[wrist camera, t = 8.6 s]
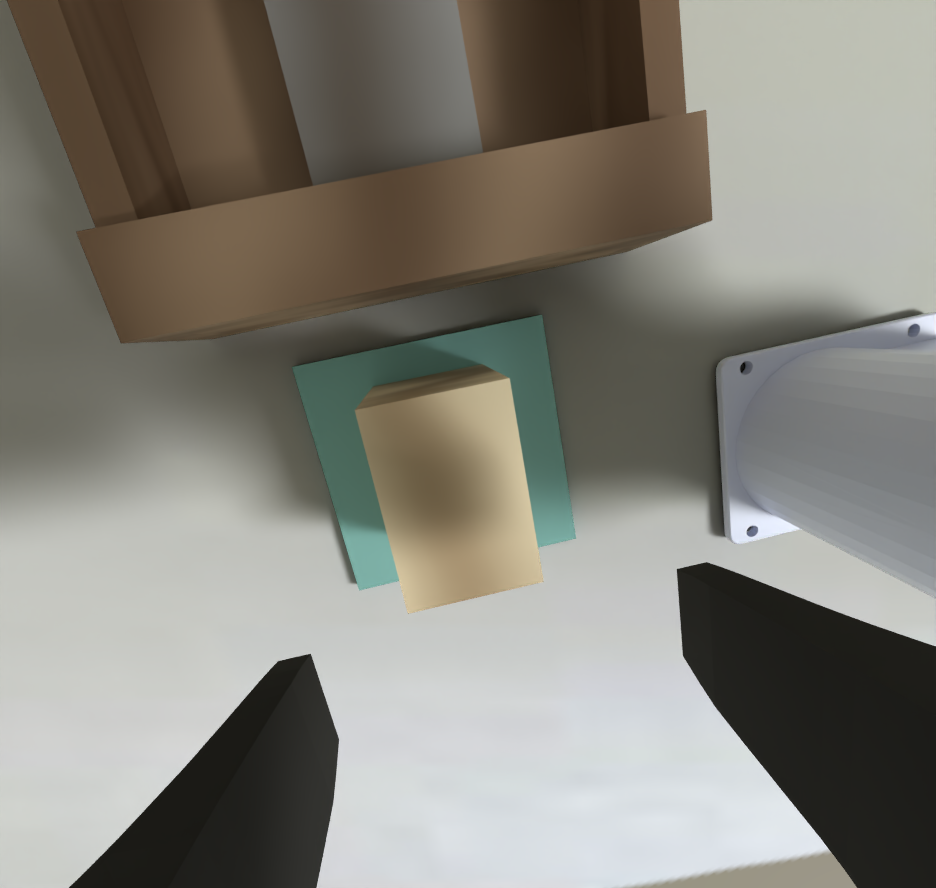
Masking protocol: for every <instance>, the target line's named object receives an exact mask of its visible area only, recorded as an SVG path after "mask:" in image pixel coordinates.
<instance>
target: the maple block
mask: <svg viewBox="0 0 936 888" xmlns="http://www.w3.org/2000/svg"><path fill="white" fill-rule="evenodd" d="M355 413H356V417H357V421H358V425H359V429H360V432H361V436H362V440H363V444H364V448H365V452H366V455H367V459H368V463H369V467H370V471H371V474H372V478H373V482H374V486H375V490H376V493H377V497H378V501H379V505H380V509H381V513H382V516H383V520H384V524H385V528H386V532H387V535H388V539H389V543H390V547H391V551H392V555H393V558H394V562H395V566H396V570H397V574H398V577H399V581H400V585H401V589H402V593H403V596H404V600H405V604H406V608H407V612H408V614H409V613H413V612H417V611H422V610H426V609H430V608H434V607H439V606H443V605H447V604H451V603H456V602H460V601H464V600H468V599H472V598H477V597H481V596H485V595H489V594H494V593H498V592H502V591H506V590H511V589H515V588H519V587H523V586H528V585H532V584H536V583H540V582H544V581H543V575H542V569H541V563H540V557H539V551H538V545H537V539H536V533H535V527H534V521H533V515H532V509H531V503H530V497H529V491H528V485H527V479H526V473H525V467H524V461H523V455H522V449H521V443H520V437H519V431H518V425H517V419H516V413H515V407H514V401H513V395H512V389H511V383H510V378H508V377H506V376H505V375H503V374H501V373H499V372H497V371H495V370H493V369H491V368H489V367H487V366H485V365H483V364H480V365H475V366H470V367H465V368H461V369H456V370H451V371H446V372H441V373H436V374H431V375H426V376H422V377H417V378H412V379H407V380H402V381H397V382H392V383H387V384H383V385H378V386H373V387H372V389H371V390H370V391H369V392H368V394H367V395H366V396H365V398H364V399H363V400H362V401H361V403H360V404H359V405H358V407H357V408H356V409H355Z"/></svg>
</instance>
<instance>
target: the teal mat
mask: <svg viewBox="0 0 936 888" xmlns="http://www.w3.org/2000/svg"><path fill="white" fill-rule="evenodd" d="M480 364H483V365H485V366H487V367H489V368H491V369H493V370H495V371H497V372H499V373H501V374H503V375H505V376H506V377H508V378H510V383H511V389H512V395H513V401H514V407H515V413H516V419H517V425H518V431H519V437H520V443H521V449H522V455H523V461H524V467H525V473H526V479H527V485H528V491H529V497H530V503H531V509H532V515H533V521H534V527H535V533H536V539H537V545H538V547H542V546H546V545H551V544H555V543H559V542H563V541H567V540H571V539H576V535H575V529H574V522H573V515H572V509H571V502H570V496H569V489H568V482H567V476H566V469H565V463H564V456H563V449H562V443H561V436H560V429H559V423H558V416H557V410H556V403H555V396H554V390H553V383H552V377H551V370H550V363H549V357H548V350H547V344H546V337H545V330H544V324H543V317H542V315H537V316H532V317H527V318H522V319H518V320H513V321H508V322H503V323H499V324H494V325H489V326H484V327H480V328H475V329H470V330H465V331H460V332H456V333H451V334H446V335H441V336H437V337H432V338H427V339H422V340H418V341H413V342H408V343H403V344H399V345H394V346H389V347H384V348H379V349H375V350H370V351H365V352H360V353H356V354H351V355H346V356H341V357H337V358H332V359H327V360H322V361H318V362H313V363H308V364H303V365H298V366H294V367H292V369H293V373H294V376H295V379H296V383H297V386H298V389H299V393H300V396H301V399H302V402H303V406H304V409H305V412H306V416H307V419H308V422H309V426H310V429H311V432H312V436H313V439H314V442H315V446H316V449H317V452H318V455H319V459H320V462H321V465H322V469H323V472H324V475H325V479H326V482H327V485H328V489H329V492H330V495H331V499H332V502H333V505H334V508H335V512H336V515H337V518H338V522H339V525H340V528H341V532H342V535H343V538H344V542H345V545H346V548H347V552H348V555H349V558H350V561H351V565H352V568H353V571H354V575H355V578H356V581H357V585H358V588H359V590H363V589H367V588H371V587H375V586H380V585H384V584H388V583H392V582H396V581H399V577H398V574H397V570H396V566H395V562H394V558H393V555H392V551H391V547H390V543H389V539H388V535H387V532H386V528H385V524H384V520H383V516H382V513H381V509H380V505H379V501H378V497H377V493H376V490H375V486H374V482H373V478H372V474H371V471H370V467H369V463H368V459H367V455H366V452H365V448H364V444H363V440H362V436H361V432H360V429H359V425H358V421H357V417H356V413H355V409H356V408H357V407H358V405H359V404H360V403H361V401H362V400H363V399H364V398H365V396H366V395H367V394H368V392H369V391H370V390H371V389H372V387H373V386H378V385H383V384H387V383H392V382H397V381H402V380H407V379H412V378H417V377H422V376H426V375H431V374H436V373H441V372H446V371H451V370H456V369H461V368H465V367H470V366H475V365H480Z"/></svg>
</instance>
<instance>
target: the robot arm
mask: <svg viewBox="0 0 936 888" xmlns="http://www.w3.org/2000/svg"><path fill="white" fill-rule="evenodd" d="M908 329H909V333H908ZM743 362H745V365H746V366H745V370H744V371H743V372H742V373H741V372H740V366H741V364H742V363H743ZM716 384H717V402H718V420H719V438H720V456H721V475H722V493H723V511H724V529H725V536H726V538H727V539H728V540H730V541H731V542H733V543H735V544H743V543H747V542H751V541H755V540H759V539H763V538H767V537H771V536H775V535H779V534H783V533H787V532H791V531H795V530H800V529H802V530H804V531H806V532H808V533H810V534H812V535H814V536H816V537H817V538H819V539H821V540H823V541H825V542H827V543H829V544H831V545H833V546H835V547H837V548H839V549H841V550H843V551H845V552H847V553H848V554H850V555H852V556H854V557H856V558H858V559H860V560H862V561H864V562H866V563H868V564H870V565H872V566H874V567H876V568H878V569H879V570H881V571H883V572H885V573H887V574H889V575H891V576H893V577H895V578H897V579H899V580H901V581H903V582H905V583H907V584H908V585H910V586H912V587H914V588H916V589H918V590H920V591H922V592H924V593H926V594H928V595H930V596H932V597H934V598H936V312H935V313H925V314H920V315H916V316H911V317H907V318H902V319H898V320H893V321H889V322H884V323H880V324H875V325H871V326H866V327H861V328H857V329H852V330H848V331H843V332H839V333H834V334H830V335H825V336H821V337H816V338H812V339H807V340H803V341H798V342H794V343H789V344H784V345H780V346H775V347H771V348H766V349H762V350H757V351H753V352H748V353H744V354H739V355H735V356H730V357H726V358H724V359H722V360H721V361H720V362H719V364H718V366H717V368H716ZM750 526H751V529H750V531H749V532H747V529H748V528H749V527H750ZM746 532H747V533H746ZM677 578H678V592H679V606H680V620H681V634H682V648H683V657H684V658H685V660H686V661H687V663H688V665H689V666H690V668H691V670H692V671H693V673H694V674H695V676H696V678H697V679H698V681H699V683H700V684H701V686H702V687H703V689H704V690H705V692H706V693H707V695H708V696H709V698H710V699H711V701H712V702H713V704H714V706H715V707H716V708H717V710H718V711H719V712H720V713H721V715H722V716H723V717H724V719H725V720H726V721H727V722H728V724H729V725H730V726H731V727H732V729H733V730H734V731H735V732H736V734H737V735H738V736H739V737H740V739H741V740H742V741H743V742H744V744H745V745H746V746H747V747H748V749H749V750H750V751H751V752H752V754H753V755H754V756H755V757H756V759H757V760H758V761H759V762H760V764H761V765H762V766H763V767H764V769H765V770H766V771H767V772H768V773H769V775H770V776H771V777H772V778H773V780H774V781H775V782H776V783H777V785H778V786H779V787H780V788H781V790H782V791H783V792H784V793H785V795H786V796H787V797H788V798H789V800H790V801H791V802H792V803H793V804H794V806H795V807H796V808H797V809H798V811H799V812H800V813H801V814H802V816H803V817H804V818H805V819H806V821H807V822H808V823H809V824H810V826H811V827H812V828H813V829H814V830H815V832H816V833H817V834H818V835H819V837H820V838H821V839H822V841H823V842H824V843H825V845H826V846H827V847H828V849H829V850H830V851H831V852H832V854H833V855H834V856H835V857H836V859H837V860H838V862H839V863H840V864H841V866H842V867H843V868H844V869H845V871H846V872H847V874H848V875H849V877H850V878H851V879H852V881H853V882H854V884H855V885H856V887H857V888H936V646H933V645H930V644H926V643H924V642H921V641H918V640H915V639H912V638H909V637H906V636H903V635H900V634H897V633H894V632H892V631H889V630H886V629H883V628H880V627H877V626H874V625H871V624H869V623H866V622H863V621H860V620H858V619H855V618H852V617H849V616H847V615H844V614H841V613H839V612H836V611H833V610H831V609H828V608H825V607H823V606H820V605H818V604H815V603H812V602H810V601H807V600H805V599H802V598H799V597H797V596H794V595H792V594H789V593H787V592H784V591H782V590H779V589H777V588H774V587H772V586H769V585H766V584H764V583H761V582H759V581H756V580H754V579H751V578H749V577H746V576H743V575H741V574H738V573H736V572H733V571H730V570H728V569H725V568H722V567H719V566H716V565H713V564H710V563H707V562H706V563H702V564H697V565H693V566H689V567H684V568H680V569H677ZM338 744H339V738H338V735H337V732H336V729H335V726H334V723H333V720H332V717H331V714H330V711H329V708H328V705H327V702H326V699H325V696H324V693H323V690H322V687H321V684H320V681H319V678H318V675H317V672H316V669H315V666H314V663H313V660H312V656H311V654H308V655H303V656H299V657H295V658H290V659H286V660H282V661H278V662H277V663H276V664H275V665H274V666H273V667H272V668H271V669H270V670H269V672H268V673H267V674H266V675H265V676H264V677H263V678H262V679H261V680H260V682H259V683H258V684H257V685H256V686H255V687H254V689H253V690H252V691H251V692H250V693H249V694H248V695H247V697H246V698H245V699H244V700H243V701H242V702H241V704H240V705H239V706H238V707H237V708H236V709H235V711H234V712H233V713H232V714H231V715H230V716H229V717H228V719H227V720H226V721H225V722H224V723H223V724H222V726H221V727H220V728H219V729H218V730H217V731H216V732H215V733H214V735H213V736H212V737H211V738H210V739H209V740H208V741H207V743H206V744H205V745H204V746H203V747H202V748H201V749H200V751H199V752H198V753H197V754H196V755H195V756H194V757H193V759H192V760H191V761H190V762H189V763H188V764H187V765H186V766H185V768H184V769H183V770H182V771H181V772H180V773H179V774H178V775H177V776H176V777H175V778H174V779H173V780H172V782H171V783H170V784H169V785H168V786H167V787H166V788H165V789H164V790H163V791H162V792H161V793H160V794H159V795H158V797H157V798H156V799H155V800H154V801H153V802H152V803H151V804H150V805H149V806H148V807H147V808H146V809H145V810H144V812H143V813H142V814H141V815H140V816H139V817H138V818H137V819H136V820H135V821H134V822H133V823H132V824H131V825H130V827H129V828H128V829H127V830H126V831H125V832H124V833H123V834H122V835H121V836H120V837H119V838H118V839H117V840H116V841H115V842H114V843H113V844H112V845H111V846H110V847H109V848H108V849H107V851H106V852H105V853H104V854H103V855H102V856H101V857H100V858H99V859H98V860H97V861H96V862H95V863H94V864H93V865H92V866H91V867H90V868H89V869H88V870H87V871H86V872H85V873H84V874H83V875H82V876H81V877H80V878H79V879H78V880H77V881H75V882H74V883H73V884H72V885H71V886H70V887H69V888H316V887H317V882H318V877H319V872H320V867H321V862H322V857H323V852H324V847H325V842H326V837H327V832H328V827H329V822H330V816H331V811H332V806H333V799H334V789H335V780H336V769H337V757H338Z"/></svg>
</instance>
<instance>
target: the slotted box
mask: <svg viewBox="0 0 936 888" xmlns="http://www.w3.org/2000/svg"><path fill="white" fill-rule="evenodd" d="M7 2H8V4H9V7H10V10H11V12H12V15H13V17H14V20H15V22H16V25H17V27H18V30H19V33H20V35H21V38H22V40H23V43H24V45H25V48H26V50H27V53H28V56H29V58H30V61H31V63H32V66H33V68H34V71H35V73H36V76H37V79H38V81H39V84H40V86H41V89H42V91H43V94H44V96H45V99H46V102H47V104H48V107H49V109H50V112H51V114H52V117H53V120H54V122H55V125H56V127H57V130H58V132H59V135H60V137H61V140H62V143H63V145H64V148H65V150H66V153H67V155H68V158H69V160H70V163H71V166H72V168H73V171H74V173H75V176H76V178H77V181H78V183H79V186H80V189H81V191H82V194H83V196H84V199H85V201H86V204H87V206H88V209H89V212H90V214H91V217H92V219H93V222H94V224H95V227H96V228H92V229H87V230H82V231H77V232H76V233H77V235H78V238H79V240H80V243H81V245H82V248H83V250H84V253H85V255H86V258H87V260H88V262H89V265H90V267H91V270H92V272H93V275H94V277H95V280H96V282H97V285H98V287H99V290H100V292H101V295H102V297H103V300H104V302H105V305H106V307H107V310H108V312H109V315H110V317H111V320H112V322H113V325H114V327H115V330H116V332H117V335H118V337H119V339H120V342H121V343H138V342H160V341H183V340H205V339H215V338H220V337H224V336H229V335H234V334H239V333H244V332H248V331H253V330H258V329H263V328H267V327H272V326H277V325H282V324H286V323H291V322H296V321H301V320H305V319H310V318H315V317H320V316H324V315H329V314H334V313H339V312H343V311H348V310H353V309H358V308H362V307H367V306H372V305H377V304H381V303H386V302H391V301H396V300H400V299H405V298H410V297H415V296H420V295H424V294H429V293H434V292H439V291H443V290H448V289H453V288H458V287H462V286H467V285H472V284H477V283H481V282H486V281H491V280H496V279H500V278H505V277H510V276H515V275H519V274H524V273H529V272H534V271H538V270H543V269H548V268H553V267H557V266H562V265H567V264H572V263H577V262H581V261H586V260H591V259H596V258H600V257H605V256H610V255H615V254H619V253H624V252H628V251H630V250H633V249H636V248H638V247H641V246H644V245H647V244H649V243H652V242H655V241H657V240H660V239H663V238H665V237H668V236H671V235H674V234H676V233H679V232H682V231H684V230H687V229H690V228H692V227H695V226H698V225H701V224H703V223H706V222H709V221H711V220H712V205H711V188H710V170H709V152H708V135H707V117H706V110H703V111H698V112H693V113H687V114H686V101H685V86H684V71H683V56H682V41H681V26H680V11H679V0H7Z"/></svg>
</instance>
